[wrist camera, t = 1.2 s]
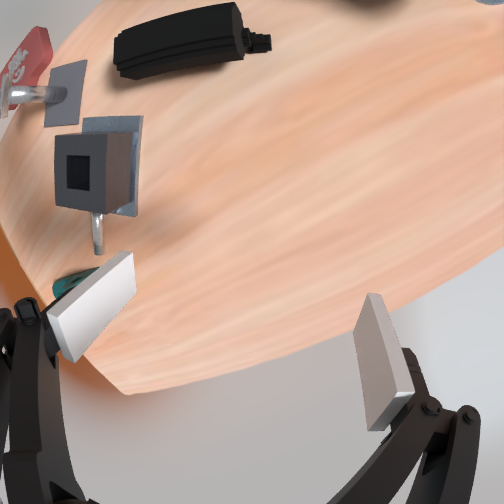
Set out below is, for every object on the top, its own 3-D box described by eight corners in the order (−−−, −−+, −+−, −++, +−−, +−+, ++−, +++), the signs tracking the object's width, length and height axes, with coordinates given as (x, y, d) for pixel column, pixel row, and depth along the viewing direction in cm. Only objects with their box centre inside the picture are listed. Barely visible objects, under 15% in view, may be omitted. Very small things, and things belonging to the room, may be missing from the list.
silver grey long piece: (59, 77, 33) (0, 76, 20) (70, 75, 33) (9, 72, 20) (55, 113, 36) (-5, 119, 23) (65, 111, 36) (3, 117, 23)
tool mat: (53, 69, 33) (51, 69, 33) (87, 60, 32) (85, 59, 32) (46, 126, 38) (43, 127, 38) (78, 123, 37) (76, 124, 37)
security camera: (273, 66, 31) (264, 44, 22) (147, 85, 34) (108, 76, 25) (270, 24, 28) (260, -7, 19) (147, 46, 31) (110, 30, 22)
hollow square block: (86, 117, 37) (54, 119, 30) (143, 115, 36) (112, 114, 28) (87, 239, 46) (59, 256, 39) (138, 251, 45) (112, 272, 38)
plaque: (4, 123, 35) (-5, 78, 31) (16, 122, 39) (6, 78, 35) (45, 65, 30) (35, 22, 26) (59, 67, 33) (47, 24, 29)
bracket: (99, 266, 48) (75, 285, 41) (114, 296, 51) (93, 318, 44) (54, 280, 53) (33, 296, 46) (67, 304, 55) (47, 322, 48)
